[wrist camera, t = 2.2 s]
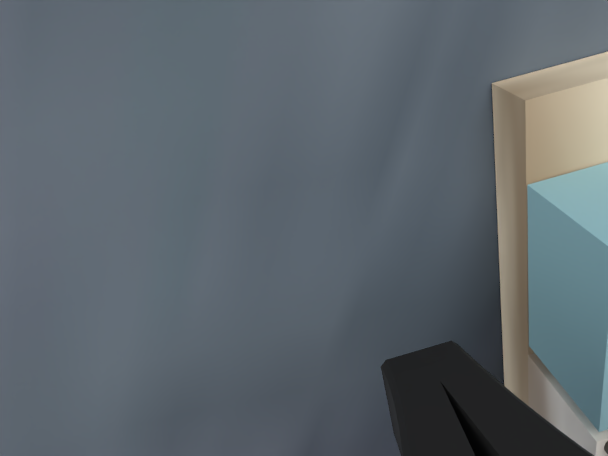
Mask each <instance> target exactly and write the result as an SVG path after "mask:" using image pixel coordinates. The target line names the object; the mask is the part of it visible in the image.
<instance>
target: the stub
mask: <svg viewBox="0 0 608 456" xmlns="http://www.w3.org/2000/svg"><path fill="white" fill-rule="evenodd" d="M527 198H528V307H529V346H530V348H531V349H532V350H533V351H534V353H535V354H536V355H537V356H538V357H539V359H540V360H541V361H542V362H543V364H544V365H545V366H546V367H547V369H548V370H549V371H550V372H551V374H552V375H553V376H554V377H555V378H556V380H557V381H558V382H559V383H560V385H561V386H562V387H563V388H564V390H565V391H566V392H567V393H568V394H569V396H570V397H571V398H572V399H573V401H574V402H575V403H576V404H577V406H578V407H579V408H580V409H581V410H582V412H583V413H584V414H585V415H586V417H587V418H588V419H589V420H590V422H591V423H592V424H593V425H594V427H595V428H596V429H597V430H598V431H599V432H601V431H604V430H607V429H608V162H606V163H603V164H599V165H596V166H592V167H588V168H585V169H581V170H578V171H574V172H571V173H567V174H564V175H560V176H557V177H553V178H550V179H546V180H543V181H539V182H536V183H532V184H528V185H527Z"/></svg>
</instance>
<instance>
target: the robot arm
mask: <svg viewBox="0 0 608 456" xmlns="http://www.w3.org/2000/svg"><path fill="white" fill-rule="evenodd" d="M381 370H382V375H383V380H384V385H385V390H386V395H387V400H388V405H389V411H390V416H391V421H392V426H393V431H394V435H395V438H396V441H397V444H398V447H399V450H400V453H401V456H594V455H593V454H591V453H590V452H588V451H587V450H586V449H584V448H583V447H581V446H580V445H579V444H577V443H576V442H575V441H573V440H572V439H571V438H569V437H568V436H567V435H565V434H564V433H562V432H561V431H560V430H559V429H557V428H556V427H555V426H553V425H552V424H551V423H550V422H548V421H547V420H546V419H544V418H543V417H542V416H541V415H539V414H538V413H537V412H536V411H534V410H533V409H532V408H530V407H529V406H528V405H527V404H525V403H524V402H523V401H522V400H520V399H519V398H518V397H517V396H516V395H514V394H513V393H512V392H511V391H510V390H508V389H507V388H506V387H505V386H504V385H503V384H501V383H500V382H499V381H498V380H497V379H496V378H494V377H493V376H492V375H491V374H490V373H489V372H487V371H486V370H485V369H484V368H483V367H482V366H481V365H480V364H478V363H477V362H476V361H475V360H474V359H473V358H472V357H471V356H470V355H469V354H468V353H466V352H465V351H464V350H463V349H462V348H461V347H460V346H459V345H458V344H456V343H455V342H453V341H449V342H445V343H442V344H439V345H435V346H432V347H429V348H425V349H422V350H418V351H415V352H412V353H408V354H405V355H402V356H398V357H395V358H391V359H388V360H386V361H385V362H384V363H383V365H382V366H381Z"/></svg>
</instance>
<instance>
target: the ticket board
mask: <svg viewBox="0 0 608 456" xmlns="http://www.w3.org/2000/svg"><path fill="white" fill-rule="evenodd" d="M492 100H493V124H494V148H495V172H496V197H497V221H498V245H499V269H500V293H501V317H502V342H503V366H504V386H505V387H506V388H507V389H508V390H510V391H511V392H512V393H513V394H514V395H516V396H517V397H518V398H519V399H520V400H522V401H523V402H524V403H525V404H527V405H528V406H529V407H530V408H532V409H533V410H534V411H536V412H537V413H538V414H539V415H541V416H542V417H543V418H544V419H546V420H547V421H548V422H550V423H551V424H552V425H553V426H555V427H556V428H557V429H559V430H560V431H561V432H562V433H564V434H565V435H567V436H568V437H569V438H571V439H572V440H573V441H575V442H576V443H577V444H579V445H580V446H581V447H583V448H584V449H586V450H587V451H588V452H590V453H591V454H593V455H594V456H608V429H607V430H604V431H601V432H599V431H598V430H597V429H596V428H595V427H594V425H593V424H592V423H591V422H590V420H589V419H588V418H587V417H586V415H585V414H584V413H583V412H582V410H581V409H580V408H579V407H578V406H577V404H576V403H575V402H574V401H573V399H572V398H571V397H570V396H569V394H568V393H567V392H566V391H565V390H564V388H563V387H562V386H561V385H560V383H559V382H558V381H557V380H556V378H555V377H554V376H553V375H552V374H551V372H550V371H549V370H548V369H547V367H546V366H545V365H544V364H543V362H542V361H541V360H540V359H539V357H538V356H537V355H536V354H535V353H534V351H533V350H532V349H531V348H530V346H529V307H528V198H527V185H528V184H532V183H536V182H539V181H543V180H546V179H550V178H553V177H557V176H560V175H564V174H567V173H571V172H574V171H578V170H581V169H585V168H588V167H592V166H596V165H599V164H603V163H606V162H608V52H605V53H601V54H597V55H594V56H590V57H586V58H583V59H579V60H575V61H572V62H568V63H564V64H561V65H557V66H553V67H550V68H546V69H542V70H539V71H535V72H531V73H528V74H524V75H520V76H517V77H513V78H509V79H506V80H502V81H498V82H495V83H492Z"/></svg>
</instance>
